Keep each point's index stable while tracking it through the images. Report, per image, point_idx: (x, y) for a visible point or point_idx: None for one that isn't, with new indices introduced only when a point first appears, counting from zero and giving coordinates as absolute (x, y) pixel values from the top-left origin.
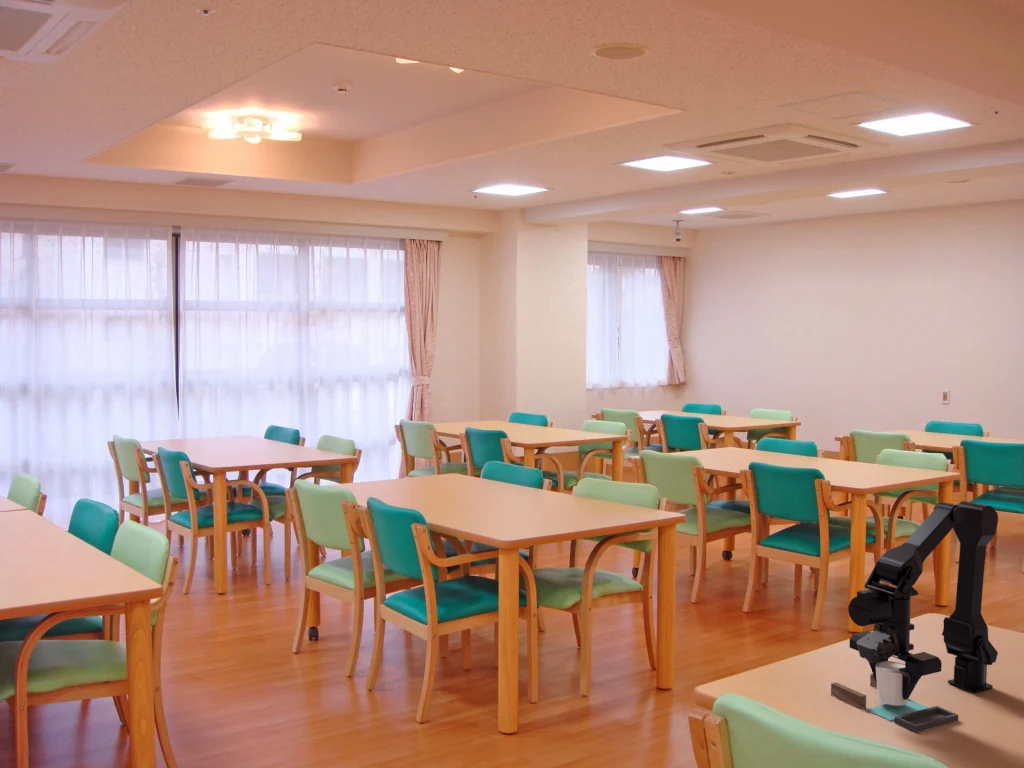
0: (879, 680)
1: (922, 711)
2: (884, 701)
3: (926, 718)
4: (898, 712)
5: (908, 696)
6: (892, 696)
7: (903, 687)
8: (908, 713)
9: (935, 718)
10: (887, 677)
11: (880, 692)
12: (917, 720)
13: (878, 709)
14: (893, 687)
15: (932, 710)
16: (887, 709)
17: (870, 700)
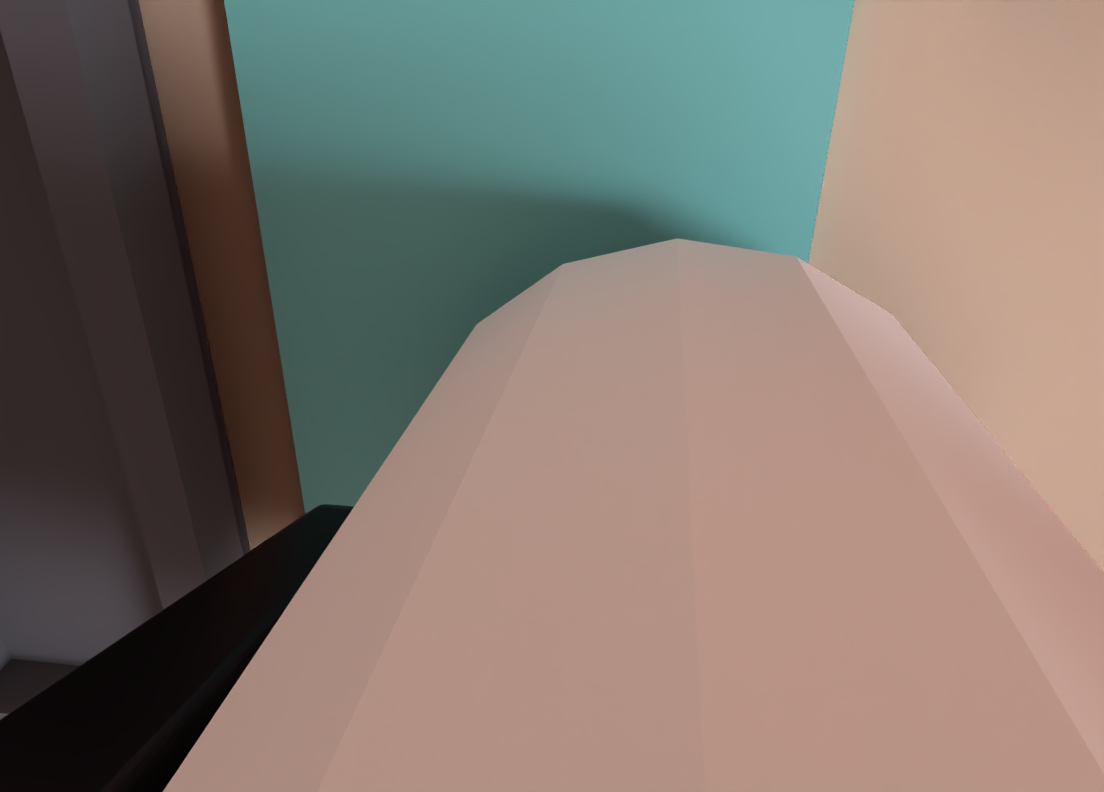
0: (902, 520)
1: (136, 504)
2: (655, 253)
3: (97, 446)
4: (429, 291)
5: None
6: (466, 378)
7: (174, 679)
8: (119, 254)
9: (69, 533)
10: (432, 701)
11: (790, 325)
12: (57, 278)
13: (706, 79)
14: (363, 521)
15: None
16: (610, 233)
17: (1089, 346)
